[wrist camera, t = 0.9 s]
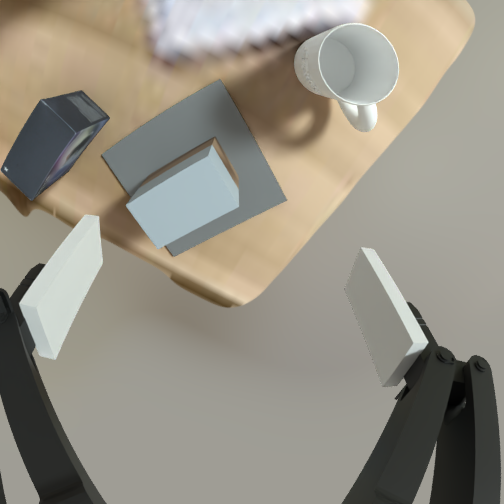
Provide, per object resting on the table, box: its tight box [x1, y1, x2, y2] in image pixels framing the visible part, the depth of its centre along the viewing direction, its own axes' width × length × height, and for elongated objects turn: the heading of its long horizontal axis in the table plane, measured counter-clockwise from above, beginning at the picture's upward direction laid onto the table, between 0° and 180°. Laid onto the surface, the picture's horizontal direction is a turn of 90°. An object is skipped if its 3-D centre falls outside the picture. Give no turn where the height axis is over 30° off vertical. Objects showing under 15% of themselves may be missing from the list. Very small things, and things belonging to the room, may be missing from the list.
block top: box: [126, 145, 239, 249], centre depth 34 cm, size 6×10×5 cm, turn 118°
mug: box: [294, 23, 399, 132], centre depth 30 cm, size 8×12×12 cm
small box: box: [1, 90, 110, 201], centre depth 32 cm, size 11×6×10 cm, turn 131°
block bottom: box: [139, 137, 239, 189], centre depth 38 cm, size 6×10×5 cm, turn 118°
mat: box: [102, 79, 287, 257], centre depth 40 cm, size 18×18×1 cm
